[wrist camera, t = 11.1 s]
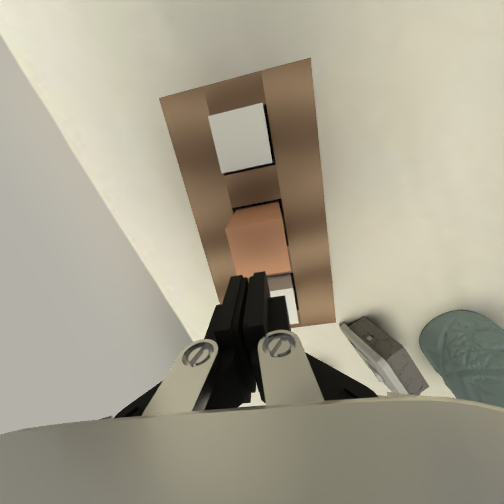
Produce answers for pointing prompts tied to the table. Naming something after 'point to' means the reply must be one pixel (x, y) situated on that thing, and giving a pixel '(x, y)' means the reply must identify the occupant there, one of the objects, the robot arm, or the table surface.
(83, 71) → the table surface
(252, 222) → the terracotta peg
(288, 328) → the robot arm
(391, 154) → the table surface
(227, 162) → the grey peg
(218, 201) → the socket board
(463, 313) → the teal plant pot
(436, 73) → the table surface
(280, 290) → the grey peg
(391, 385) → the electrical switch
